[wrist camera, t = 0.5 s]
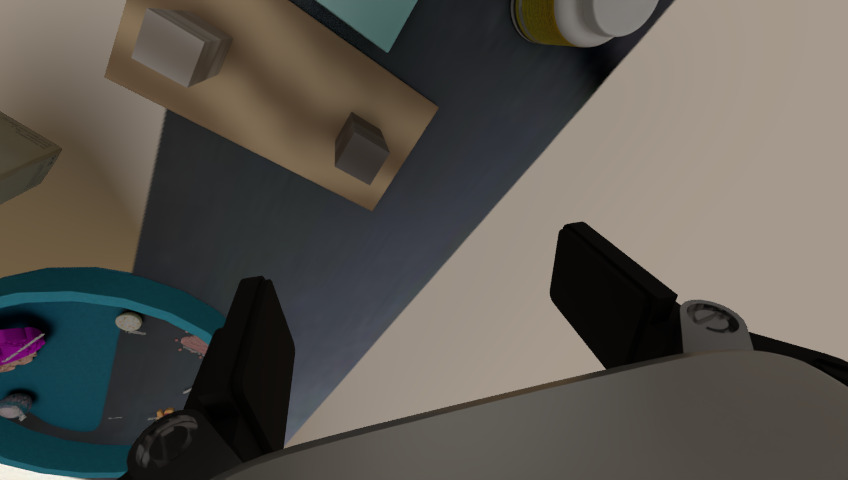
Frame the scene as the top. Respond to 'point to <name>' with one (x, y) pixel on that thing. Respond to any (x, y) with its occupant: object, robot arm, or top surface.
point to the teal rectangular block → (372, 17)
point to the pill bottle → (578, 20)
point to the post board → (273, 88)
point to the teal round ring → (76, 358)
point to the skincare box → (22, 158)
